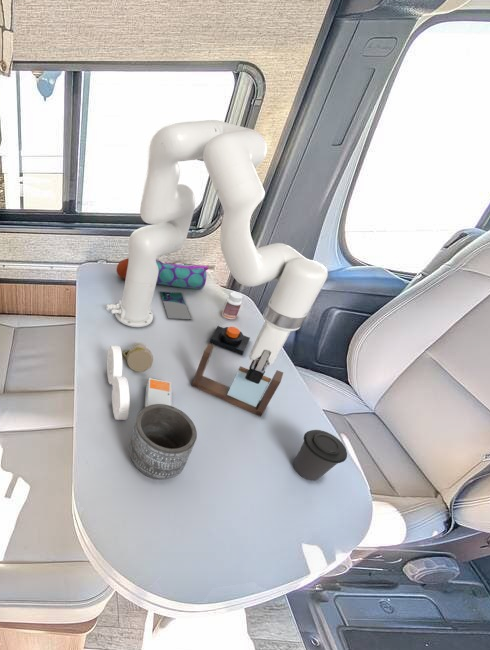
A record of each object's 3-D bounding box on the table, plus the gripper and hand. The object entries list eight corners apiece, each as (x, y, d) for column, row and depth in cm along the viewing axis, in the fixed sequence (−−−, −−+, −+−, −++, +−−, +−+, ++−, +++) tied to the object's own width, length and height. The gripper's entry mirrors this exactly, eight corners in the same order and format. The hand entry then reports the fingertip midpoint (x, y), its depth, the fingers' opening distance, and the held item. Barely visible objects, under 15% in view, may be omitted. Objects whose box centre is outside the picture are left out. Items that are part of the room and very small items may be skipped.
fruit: (121, 269, 156) (124, 251, 151) (142, 276, 152) (145, 258, 147) (111, 278, 150) (113, 260, 145) (131, 286, 146) (135, 267, 141)
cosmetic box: (171, 381, 101) (172, 417, 92) (168, 392, 104) (168, 428, 95) (148, 376, 102) (146, 411, 93) (145, 388, 105) (143, 423, 96)
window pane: (226, 395, 102) (244, 357, 94) (227, 393, 103) (245, 355, 94) (255, 407, 99) (276, 369, 91) (256, 405, 99) (276, 367, 91)
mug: (149, 351, 117) (162, 340, 108) (140, 380, 114) (152, 371, 104) (126, 341, 118) (137, 329, 109) (116, 370, 114) (126, 360, 105)
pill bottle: (238, 320, 131) (246, 299, 126) (223, 319, 131) (231, 298, 126) (233, 311, 135) (241, 291, 130) (219, 311, 135) (227, 290, 130)
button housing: (208, 342, 121) (212, 333, 119) (216, 329, 127) (219, 321, 124) (242, 355, 117) (246, 346, 115) (248, 341, 122) (252, 333, 120)
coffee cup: (311, 492, 83) (334, 466, 77) (278, 462, 88) (297, 435, 82) (335, 477, 86) (358, 450, 80) (301, 448, 91) (321, 421, 85)
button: (224, 335, 119) (226, 330, 118) (227, 329, 122) (229, 325, 121) (236, 339, 118) (238, 335, 117) (239, 333, 120) (241, 329, 119)
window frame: (191, 385, 106) (203, 351, 99) (196, 377, 109) (208, 343, 101) (260, 416, 99) (280, 382, 91) (264, 407, 101) (283, 372, 94)
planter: (123, 438, 92) (132, 402, 84) (175, 440, 92) (188, 404, 84) (130, 486, 82) (141, 450, 75) (187, 489, 82) (204, 453, 75)
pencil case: (145, 286, 146) (150, 263, 140) (146, 274, 153) (151, 252, 147) (202, 295, 143) (210, 272, 137) (201, 282, 150) (208, 260, 144)
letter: (105, 365, 112) (110, 338, 106) (113, 365, 112) (118, 338, 106) (115, 428, 94) (122, 400, 88) (124, 428, 94) (131, 400, 88)
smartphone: (168, 317, 130) (160, 291, 143) (167, 318, 131) (159, 292, 143) (191, 319, 130) (181, 292, 143) (190, 320, 130) (180, 293, 143)
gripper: (272, 292, 91) (245, 351, 102) (257, 327, 80) (229, 389, 91) (308, 303, 88) (276, 363, 99) (297, 341, 77) (262, 403, 88)
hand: (254, 375), depth 95 cm, fingers open, 3 cm apart
